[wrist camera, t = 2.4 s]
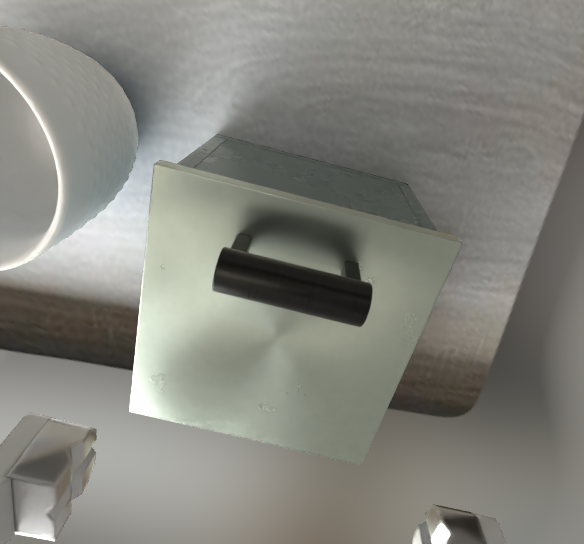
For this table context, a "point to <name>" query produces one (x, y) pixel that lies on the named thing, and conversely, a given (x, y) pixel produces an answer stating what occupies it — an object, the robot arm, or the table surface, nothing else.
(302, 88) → the table surface
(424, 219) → the bin
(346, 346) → the hinged box lid
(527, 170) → the table surface
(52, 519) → the robot arm
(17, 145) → the mug
